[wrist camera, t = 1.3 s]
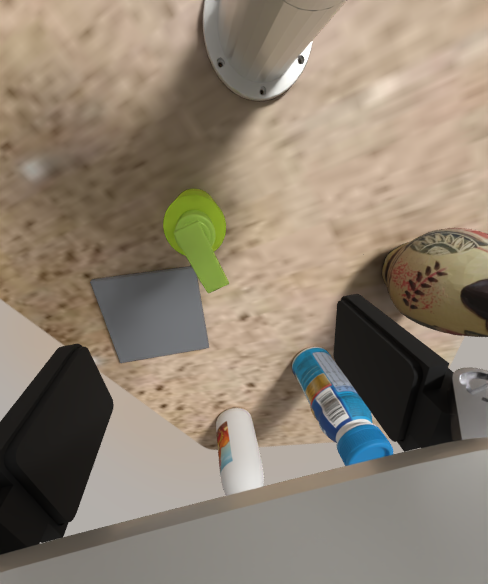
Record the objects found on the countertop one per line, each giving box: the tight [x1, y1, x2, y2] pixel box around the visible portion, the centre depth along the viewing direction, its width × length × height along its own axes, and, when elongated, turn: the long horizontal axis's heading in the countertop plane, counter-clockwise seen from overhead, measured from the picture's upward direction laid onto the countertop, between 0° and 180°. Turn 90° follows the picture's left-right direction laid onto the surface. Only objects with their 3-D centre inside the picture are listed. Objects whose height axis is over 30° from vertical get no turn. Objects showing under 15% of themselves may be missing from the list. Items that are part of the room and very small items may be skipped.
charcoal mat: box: [90, 266, 209, 363], centre depth 41 cm, size 15×15×1 cm
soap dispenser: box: [163, 189, 229, 293], centre depth 27 cm, size 6×7×20 cm
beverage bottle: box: [292, 347, 393, 466], centre depth 42 cm, size 8×8×20 cm
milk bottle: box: [216, 408, 264, 496], centre depth 45 cm, size 8×8×20 cm
